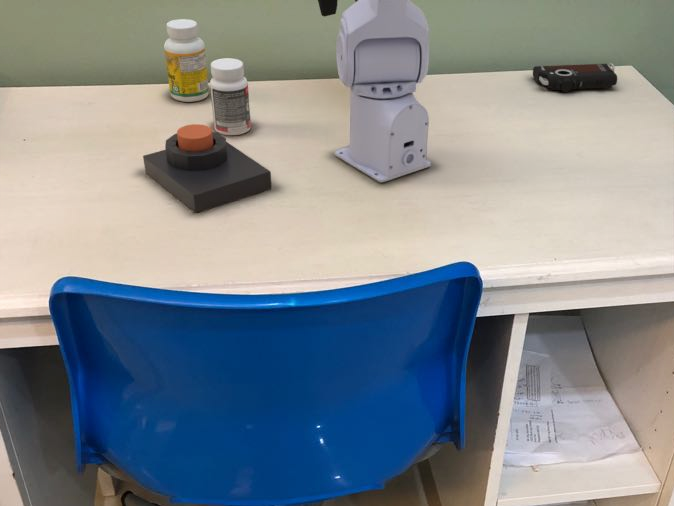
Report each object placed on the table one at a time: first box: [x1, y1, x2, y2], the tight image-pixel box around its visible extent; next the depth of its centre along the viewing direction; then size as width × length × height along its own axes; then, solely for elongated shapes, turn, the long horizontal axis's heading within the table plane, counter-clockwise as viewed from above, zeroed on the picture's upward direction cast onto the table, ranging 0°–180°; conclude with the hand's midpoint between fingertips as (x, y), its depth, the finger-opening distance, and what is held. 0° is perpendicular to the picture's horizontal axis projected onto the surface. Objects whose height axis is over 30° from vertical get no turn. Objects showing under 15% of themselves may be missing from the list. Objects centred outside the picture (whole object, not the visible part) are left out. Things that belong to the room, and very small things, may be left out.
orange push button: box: [176, 123, 214, 151], centre depth 100 cm, size 4×4×2 cm
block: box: [142, 131, 272, 214], centre depth 100 cm, size 12×10×4 cm
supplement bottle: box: [163, 18, 210, 103], centre depth 118 cm, size 5×5×10 cm
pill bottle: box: [209, 57, 252, 136], centre depth 110 cm, size 5×5×8 cm
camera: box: [532, 62, 618, 93], centre depth 126 cm, size 6×3×11 cm
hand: (346, 21), depth 117 cm, fingers open, 7 cm apart
